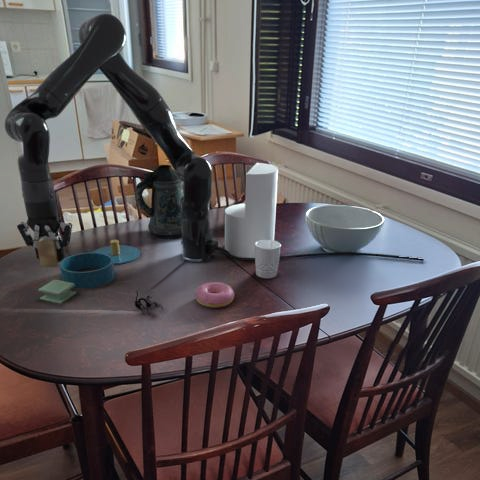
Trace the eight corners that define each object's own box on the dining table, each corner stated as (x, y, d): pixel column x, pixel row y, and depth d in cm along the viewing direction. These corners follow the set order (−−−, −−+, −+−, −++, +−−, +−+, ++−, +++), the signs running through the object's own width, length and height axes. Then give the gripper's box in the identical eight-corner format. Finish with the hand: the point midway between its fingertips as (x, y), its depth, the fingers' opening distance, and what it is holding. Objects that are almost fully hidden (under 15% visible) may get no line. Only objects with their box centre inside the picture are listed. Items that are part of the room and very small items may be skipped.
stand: (76, 294, 136) (74, 283, 134) (60, 305, 130) (58, 293, 128) (56, 290, 138) (54, 279, 136) (39, 300, 132) (37, 289, 130)
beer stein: (201, 231, 183) (199, 165, 171) (168, 247, 169) (164, 175, 156) (167, 223, 191) (164, 159, 178) (133, 237, 176) (127, 168, 164)
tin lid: (149, 252, 165) (148, 236, 162) (124, 269, 151) (122, 253, 149) (109, 245, 169) (107, 230, 166) (81, 261, 156) (78, 245, 153)
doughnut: (239, 307, 131) (239, 294, 129) (199, 312, 128) (199, 298, 126) (228, 290, 140) (228, 277, 138) (191, 294, 137) (191, 281, 135)
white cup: (281, 271, 153) (283, 241, 148) (275, 281, 146) (277, 250, 141) (258, 267, 155) (259, 238, 150) (250, 277, 148) (251, 246, 143)
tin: (124, 273, 149) (122, 256, 146) (95, 293, 137) (92, 276, 134) (83, 265, 153) (80, 249, 151) (51, 284, 141) (48, 267, 138)
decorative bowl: (293, 255, 164) (296, 221, 158) (313, 231, 186) (316, 201, 180) (372, 269, 156) (378, 233, 150) (383, 242, 177) (389, 210, 171)
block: (62, 260, 131) (58, 236, 128) (57, 267, 127) (53, 242, 124) (46, 260, 131) (42, 236, 128) (40, 266, 127) (36, 242, 124)
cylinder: (277, 243, 174) (282, 164, 160) (268, 261, 160) (273, 176, 146) (231, 238, 178) (232, 160, 164) (219, 255, 163) (219, 171, 149)
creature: (163, 307, 132) (134, 302, 131) (166, 290, 130) (136, 285, 128) (161, 321, 126) (130, 316, 124) (164, 304, 123) (133, 298, 122)
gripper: (72, 194, 123) (81, 255, 132) (17, 192, 123) (30, 254, 132) (63, 202, 117) (73, 266, 125) (4, 200, 117) (19, 265, 125)
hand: (51, 260), depth 129 cm, fingers closed on block, 4 cm apart
